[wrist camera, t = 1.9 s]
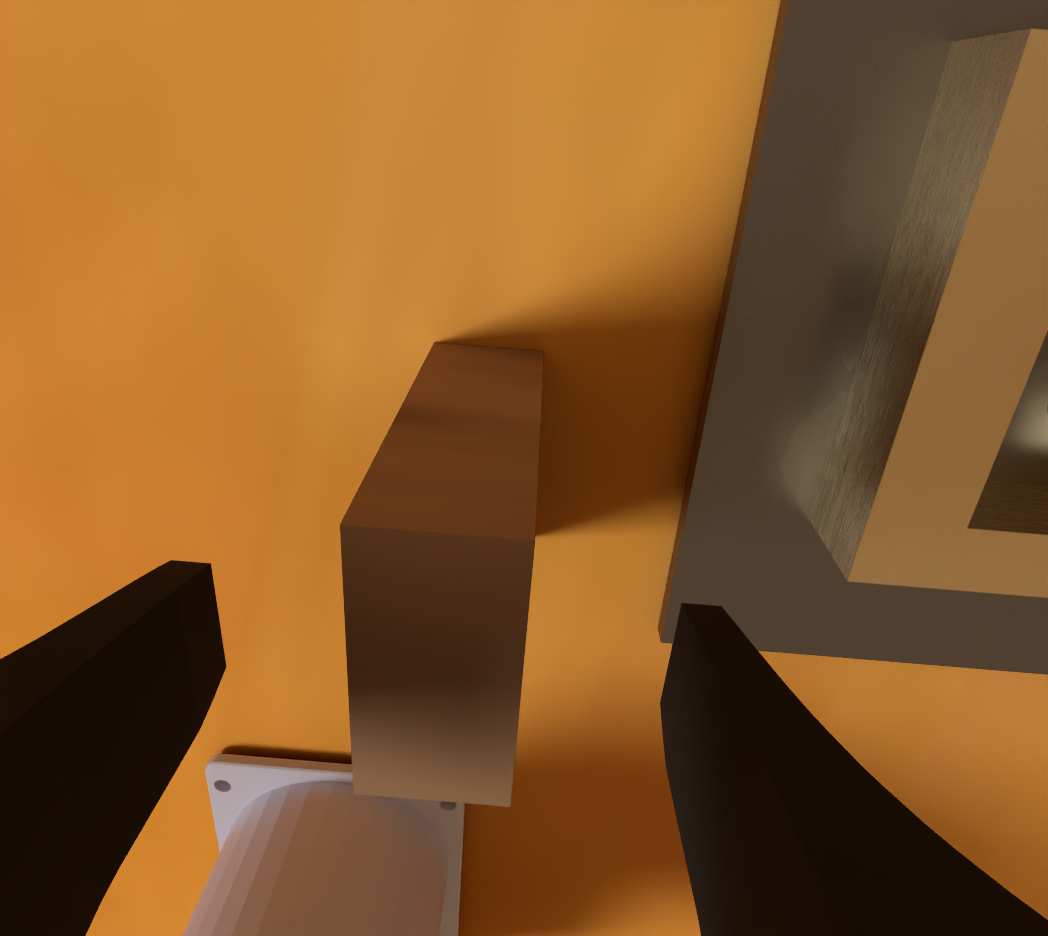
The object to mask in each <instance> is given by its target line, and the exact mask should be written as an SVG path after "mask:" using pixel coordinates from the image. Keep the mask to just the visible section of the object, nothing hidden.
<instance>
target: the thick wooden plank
mask: <svg viewBox="0 0 1048 936" xmlns="http://www.w3.org/2000/svg"><path fill="white" fill-rule="evenodd" d="M543 362H544V351H533V350H520V349H508V348H496V347H483V346H471V345H459V344H447V343H434V344H433V346H432V348H431V350H430V352H429V354H428V355H427V357H426V359H425V361H424V363H423V365H422V367H421V369H420V371H419V373H418V375H417V377H416V379H415V381H414V383H413V384H412V386H411V388H410V390H409V392H408V394H407V396H406V398H405V400H404V402H403V404H402V406H401V408H400V410H399V412H398V413H397V415H396V417H395V419H394V421H393V423H392V425H391V427H390V429H389V431H388V433H387V435H386V437H385V439H384V441H383V442H382V444H381V446H380V448H379V450H378V452H377V454H376V456H375V458H374V460H373V462H372V464H371V466H370V468H369V470H368V472H367V473H366V475H365V477H364V479H363V481H362V483H361V485H360V487H359V489H358V491H357V493H356V495H355V497H354V499H353V501H352V502H351V504H350V506H349V508H348V510H347V512H346V514H345V516H344V518H343V520H342V522H341V524H340V534H341V554H342V574H343V594H344V614H345V634H346V654H347V674H348V694H349V714H350V734H351V754H352V774H353V794H359V795H371V796H383V797H395V798H407V799H419V800H432V801H444V802H456V803H468V804H480V805H492V806H504V807H510V805H511V794H512V784H513V773H514V762H515V751H516V740H517V730H518V719H519V708H520V697H521V686H522V676H523V665H524V654H525V643H526V632H527V622H528V611H529V600H530V589H531V579H532V568H533V557H534V546H535V530H536V509H537V488H538V467H539V446H540V425H541V404H542V383H543Z"/></svg>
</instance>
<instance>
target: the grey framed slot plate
mask: <svg viewBox="0 0 1048 936" xmlns="http://www.w3.org/2000/svg"><path fill="white" fill-rule="evenodd" d="M681 603H690V604H702V605H714V606H722V607H723V608H724V610H725V611H726V612H727V613H728V614H729V616H730V617H731V618H732V619H733V621H734V622H735V623H736V624H737V626H738V627H739V628H740V629H741V631H742V632H743V633H744V634H745V635H746V637H747V638H748V639H749V640H750V642H751V643H752V644H753V645H754V647H755V648H756V649H757V650H758V651H769V652H782V653H794V654H806V655H818V656H830V657H842V658H854V659H866V660H878V661H890V662H903V663H915V664H927V665H939V666H951V667H963V668H975V669H987V670H999V671H1011V672H1023V673H1036V674H1048V0H781V2H780V7H779V12H778V17H777V23H776V28H775V33H774V38H773V43H772V48H771V53H770V58H769V63H768V68H767V74H766V79H765V84H764V89H763V94H762V99H761V104H760V109H759V114H758V120H757V125H756V130H755V135H754V140H753V145H752V150H751V155H750V160H749V166H748V171H747V176H746V181H745V186H744V191H743V196H742V201H741V206H740V211H739V217H738V222H737V227H736V232H735V237H734V242H733V247H732V252H731V257H730V263H729V268H728V273H727V278H726V283H725V288H724V293H723V298H722V303H721V308H720V314H719V319H718V324H717V329H716V334H715V339H714V344H713V349H712V354H711V360H710V365H709V370H708V375H707V380H706V385H705V390H704V395H703V400H702V405H701V411H700V416H699V421H698V426H697V431H696V436H695V441H694V446H693V451H692V457H691V462H690V467H689V472H688V477H687V482H686V487H685V492H684V497H683V502H682V508H681V513H680V518H679V523H678V528H677V533H676V538H675V543H674V548H673V554H672V559H671V564H670V569H669V574H668V579H667V584H666V589H665V594H664V599H663V605H662V610H661V615H660V620H659V625H658V631H659V636H660V641H661V643H673V641H674V636H675V631H676V626H677V622H678V617H679V612H680V607H681Z"/></svg>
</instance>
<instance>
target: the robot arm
mask: <svg viewBox="0 0 1048 936" xmlns="http://www.w3.org/2000/svg"><path fill="white" fill-rule="evenodd" d="M225 669H226V661H225V655H224V648H223V641H222V635H221V628H220V622H219V615H218V608H217V602H216V595H215V588H214V582H213V575H212V569H211V564H210V563H197V562H185V561H173V560H171V561H169V562H167V563H165V564H163V565H161V566H159V567H158V568H156V569H154V570H152V571H150V572H149V573H147V574H145V575H144V576H142V577H140V578H138V579H137V580H135V581H133V582H132V583H130V584H128V585H127V586H125V587H123V588H122V589H120V590H118V591H117V592H115V593H113V594H112V595H110V596H108V597H107V598H105V599H103V600H102V601H100V602H99V603H97V604H95V605H94V606H92V607H90V608H89V609H87V610H85V611H83V612H82V613H80V614H78V615H77V616H75V617H73V618H72V619H70V620H68V621H67V622H65V623H63V624H62V625H60V626H58V627H57V628H55V629H53V630H52V631H50V632H48V633H46V634H45V635H43V636H41V637H40V638H38V639H36V640H34V641H33V642H31V643H29V644H27V645H25V646H23V647H22V648H20V649H18V650H16V651H14V652H13V653H11V654H9V655H7V656H5V657H3V658H2V659H0V936H85V935H86V933H87V931H88V929H89V927H90V925H91V922H92V920H93V918H94V916H95V914H96V912H97V910H98V908H99V905H100V903H101V901H102V899H103V897H104V895H105V894H106V892H107V890H108V888H109V886H110V884H111V882H112V881H113V879H114V877H115V875H116V873H117V871H118V869H119V867H120V866H121V864H122V862H123V861H124V859H125V857H126V855H127V854H128V852H129V850H130V849H131V847H132V845H133V844H134V842H135V840H136V838H137V837H138V835H139V833H140V832H141V830H142V828H143V826H144V825H145V823H146V821H147V820H148V818H149V816H150V815H151V813H152V811H153V809H154V808H155V806H156V804H157V803H158V801H159V799H160V798H161V796H162V794H163V792H164V791H165V789H166V787H167V786H168V784H169V782H170V780H171V779H172V777H173V775H174V774H175V772H176V770H177V768H178V767H179V765H180V763H181V761H182V760H183V758H184V756H185V755H186V753H187V751H188V749H189V748H190V746H191V744H192V742H193V741H194V739H195V737H196V735H197V733H198V732H199V730H200V728H201V726H202V724H203V721H204V719H205V717H206V715H207V712H208V710H209V708H210V706H211V703H212V701H213V699H214V696H215V694H216V691H217V689H218V686H219V684H220V681H221V679H222V676H223V674H224V671H225ZM660 706H661V718H662V730H663V741H664V751H665V761H666V769H667V774H668V779H669V784H670V788H671V793H672V798H673V803H674V807H675V812H676V817H677V822H678V826H679V831H680V836H681V840H682V845H683V850H684V854H685V859H686V863H687V868H688V873H689V877H690V882H691V887H692V891H693V896H694V901H695V905H696V910H697V915H698V920H699V926H700V931H701V936H1048V920H1047V919H1045V918H1044V917H1043V916H1041V915H1040V914H1039V913H1037V912H1036V911H1035V910H1033V909H1032V908H1031V907H1029V906H1028V905H1027V904H1025V903H1024V902H1022V901H1021V900H1020V899H1018V898H1017V897H1016V896H1014V895H1013V894H1012V893H1010V892H1009V891H1008V890H1006V889H1005V888H1004V887H1002V886H1001V885H1000V884H999V883H997V882H996V881H995V880H994V879H992V878H991V877H990V876H989V875H987V874H986V873H985V872H983V871H982V870H981V869H980V868H978V867H977V866H976V865H975V864H973V863H972V862H971V861H970V860H968V859H967V858H966V857H965V856H963V855H962V854H961V853H959V852H958V851H957V850H956V849H954V848H953V847H952V846H951V845H950V844H948V843H947V842H946V841H945V840H944V839H942V838H941V837H940V836H939V835H938V834H936V833H935V832H934V831H933V830H932V829H930V828H929V827H928V826H927V825H926V824H925V823H923V822H922V821H921V820H920V819H919V818H918V817H917V816H916V815H915V814H913V813H912V812H911V811H910V810H909V809H908V808H907V807H906V806H905V805H903V804H902V803H901V802H900V801H899V800H898V799H897V798H896V797H894V796H893V795H892V794H891V793H890V792H889V791H888V790H887V789H886V788H884V787H883V786H882V785H881V784H880V783H879V782H878V781H877V780H876V779H875V778H874V777H873V776H872V775H871V774H870V773H869V772H868V771H866V770H865V769H864V768H863V767H862V766H861V765H860V764H859V763H858V762H857V761H856V760H855V759H854V758H853V757H852V756H851V755H850V753H849V752H848V751H847V750H846V749H845V748H844V747H843V746H842V745H841V744H840V743H839V742H838V741H837V740H836V739H835V738H834V737H833V736H832V735H831V734H830V733H829V732H828V731H827V730H826V729H825V728H824V727H823V726H822V724H821V723H820V722H819V721H818V720H817V719H816V718H815V717H814V716H813V715H812V714H811V713H810V711H809V710H808V709H807V708H806V707H805V706H804V705H803V704H802V702H801V701H800V700H799V699H798V698H797V697H796V696H795V694H794V693H793V692H792V691H791V690H790V689H789V688H788V686H787V685H786V684H785V683H784V682H783V681H782V679H781V678H780V677H779V676H778V675H777V673H776V672H775V671H774V670H773V669H772V667H771V666H770V665H769V664H768V663H767V661H766V660H765V659H764V658H763V656H762V655H761V654H760V653H759V652H758V650H757V649H756V648H755V647H754V645H753V644H752V643H751V642H750V640H749V639H748V638H747V637H746V635H745V634H744V633H743V632H742V631H741V629H740V628H739V627H738V626H737V624H736V623H735V622H734V621H733V619H732V618H731V617H730V616H729V614H728V613H727V612H726V611H725V610H724V608H723V607H722V606H714V605H702V604H690V603H681V607H680V612H679V617H678V622H677V626H676V631H675V636H674V641H673V645H672V650H671V655H670V659H669V664H668V669H667V674H666V678H665V683H664V688H663V692H662V697H661V702H660ZM205 774H206V780H207V785H208V791H209V796H210V802H211V807H212V813H213V818H214V824H215V829H216V835H217V840H218V846H219V851H220V854H219V856H218V858H217V860H216V863H215V865H214V867H213V869H212V871H211V874H210V876H209V878H208V880H207V883H206V885H205V887H204V889H203V891H202V894H201V896H200V898H199V900H198V903H197V905H196V907H195V909H194V911H193V914H192V916H191V918H190V920H189V923H188V925H187V927H186V929H185V931H184V934H183V936H458V930H459V910H460V891H461V871H462V851H463V832H464V812H465V803H456V802H444V801H432V800H419V799H407V798H395V797H383V796H371V795H359V794H353V774H352V764H341V763H329V762H317V761H305V760H293V759H281V758H269V757H257V756H245V755H233V754H217V755H215V756H213V757H212V758H211V759H210V760H209V762H208V764H207V766H206V769H205Z"/></svg>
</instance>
